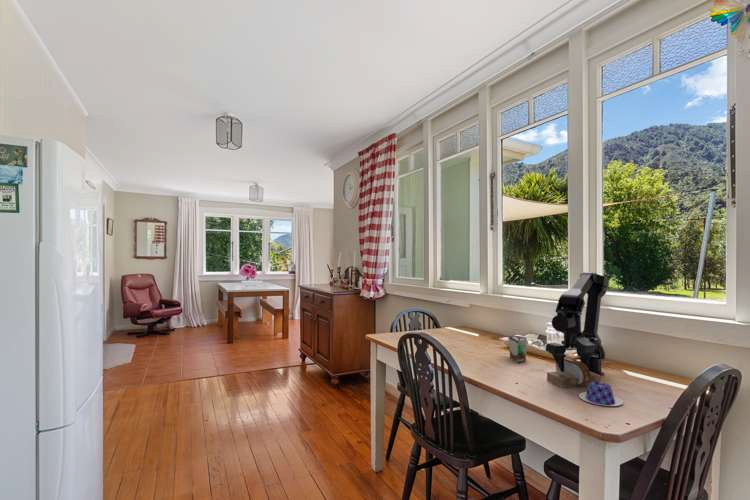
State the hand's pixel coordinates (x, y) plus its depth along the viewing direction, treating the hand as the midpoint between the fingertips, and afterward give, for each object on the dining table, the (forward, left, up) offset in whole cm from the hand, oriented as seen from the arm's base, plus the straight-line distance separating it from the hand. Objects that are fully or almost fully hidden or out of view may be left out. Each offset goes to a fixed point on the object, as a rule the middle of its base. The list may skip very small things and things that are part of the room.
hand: (573, 371), depth 134 cm
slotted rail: (0, 0, -4) cm, 4 cm away
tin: (0, 0, -4) cm, 4 cm away
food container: (+1, -31, -4) cm, 31 cm away
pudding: (+4, +17, -5) cm, 18 cm away
